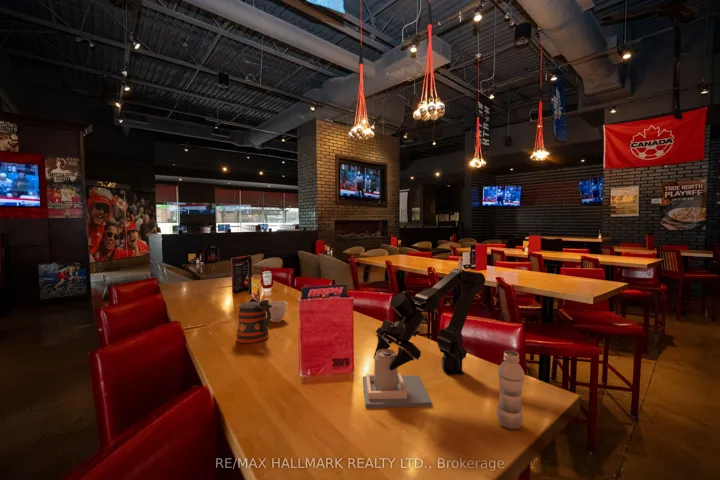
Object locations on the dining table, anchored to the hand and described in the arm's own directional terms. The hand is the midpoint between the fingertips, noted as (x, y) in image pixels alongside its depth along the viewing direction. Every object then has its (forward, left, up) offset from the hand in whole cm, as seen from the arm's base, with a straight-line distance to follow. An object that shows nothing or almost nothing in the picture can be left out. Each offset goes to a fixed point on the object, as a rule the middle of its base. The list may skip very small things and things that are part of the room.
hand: (382, 363), depth 102 cm
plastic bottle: (-33, +17, -10) cm, 39 cm away
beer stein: (+55, -51, -10) cm, 75 cm away
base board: (-4, -1, -10) cm, 11 cm away
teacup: (+52, -78, -10) cm, 94 cm away
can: (-1, -1, -9) cm, 9 cm away
